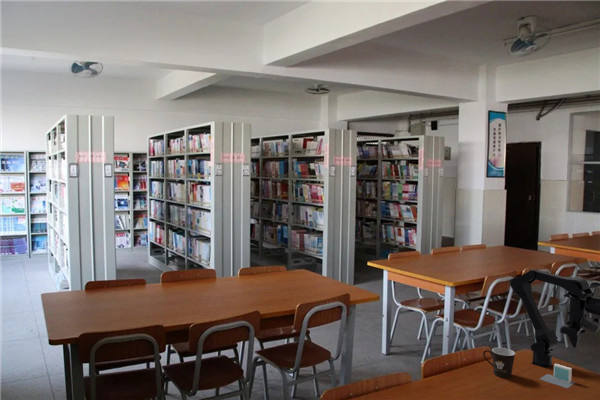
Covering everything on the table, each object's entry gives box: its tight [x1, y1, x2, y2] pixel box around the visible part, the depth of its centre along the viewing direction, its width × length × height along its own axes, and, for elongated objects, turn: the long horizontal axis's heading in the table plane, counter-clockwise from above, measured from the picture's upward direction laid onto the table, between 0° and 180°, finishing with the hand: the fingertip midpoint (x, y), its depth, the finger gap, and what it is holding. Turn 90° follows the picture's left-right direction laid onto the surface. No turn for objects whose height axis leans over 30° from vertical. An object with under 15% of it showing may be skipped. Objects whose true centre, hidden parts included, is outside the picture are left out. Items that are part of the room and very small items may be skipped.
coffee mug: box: [482, 347, 516, 379], centre depth 193 cm, size 12×9×10 cm
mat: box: [539, 373, 576, 389], centre depth 187 cm, size 10×8×1 cm
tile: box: [553, 363, 573, 383], centre depth 188 cm, size 6×2×6 cm, turn 41°
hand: (574, 347), depth 193 cm, fingers closed
